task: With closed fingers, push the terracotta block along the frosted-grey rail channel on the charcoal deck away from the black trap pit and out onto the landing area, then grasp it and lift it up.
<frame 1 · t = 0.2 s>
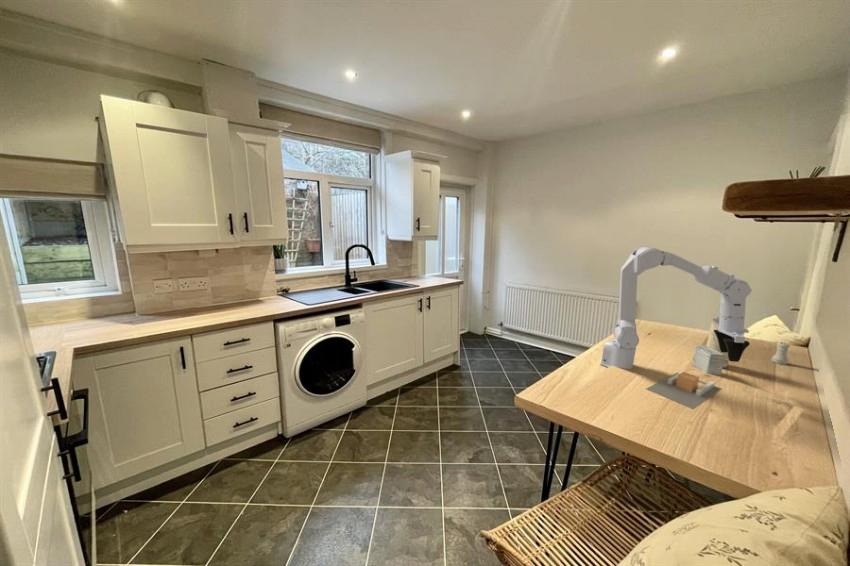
hand: (729, 356, 102), 10 cm above the table, tool pointing down, fingers open, 7 cm apart
rook chess piece: (779, 362, 123), on the table
block: (686, 387, 99), point 1 cm above the table, touching channel
medicine box: (705, 373, 113), on the table
aerosol can: (714, 364, 120), on the table
channel: (684, 392, 99), on the table
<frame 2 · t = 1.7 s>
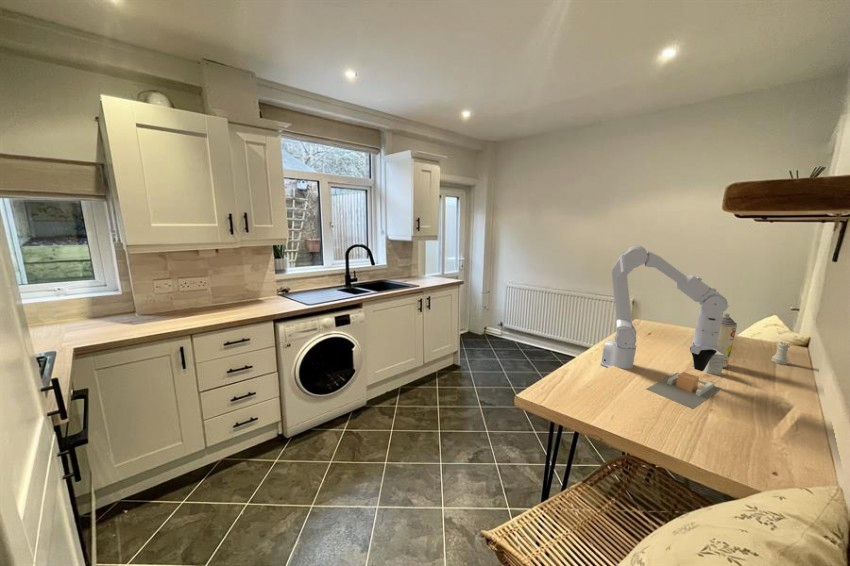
hand: (698, 369, 102), 6 cm above the table, tool pointing down, fingers closed
nothing on the table moved.
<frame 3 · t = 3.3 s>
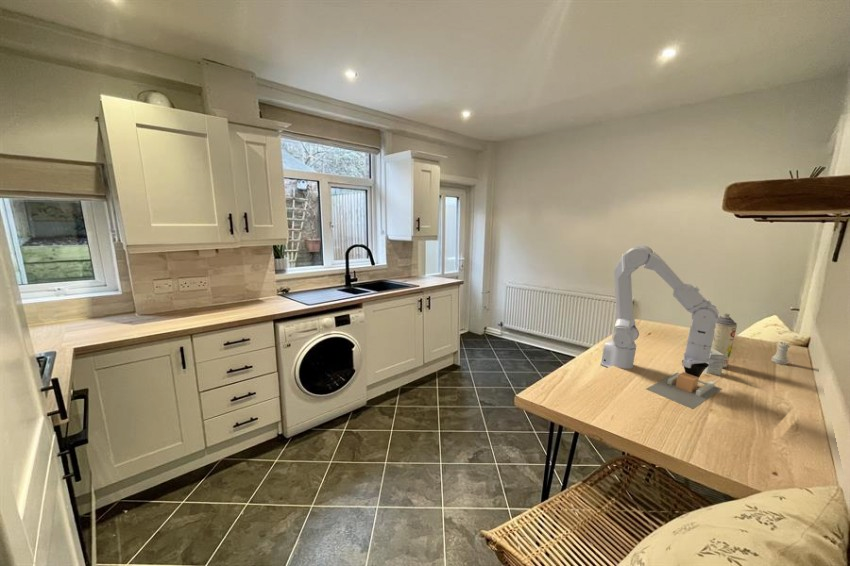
hand: (690, 382, 101), 2 cm above the table, tool pointing down, fingers closed
block: (685, 387, 99), point 2 cm above the table, touching gripper
everything else where it was.
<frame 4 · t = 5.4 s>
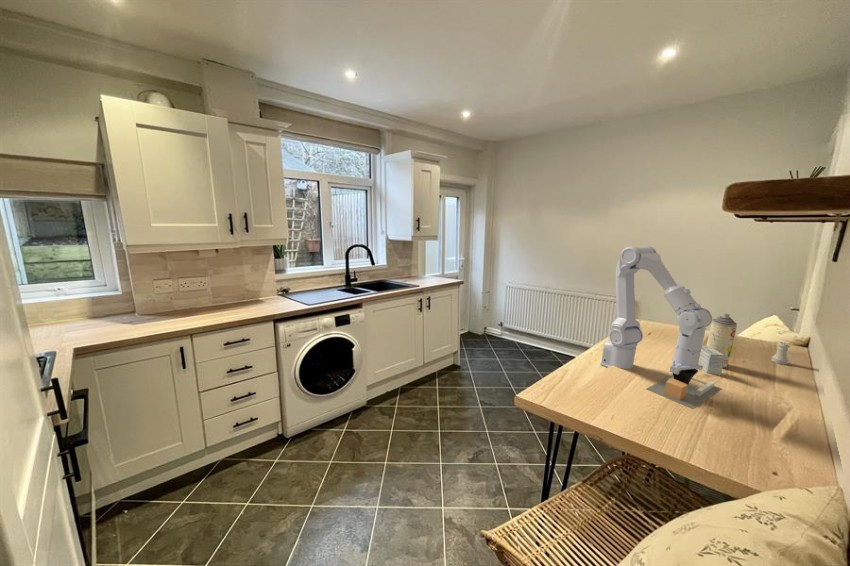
hand: (679, 389, 97), 2 cm above the table, tool pointing down, fingers closed
block: (674, 395, 95), point 1 cm above the table, touching channel, gripper
everything else where it was.
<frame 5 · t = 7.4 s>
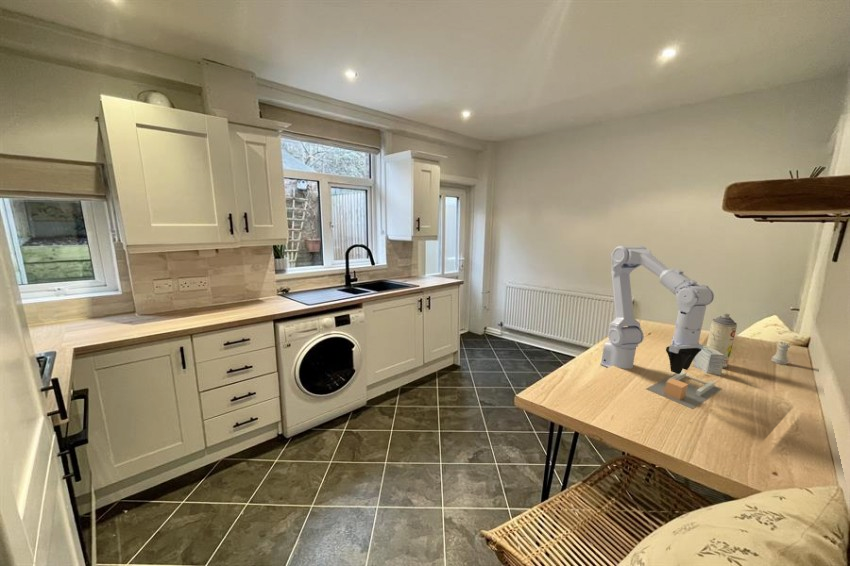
hand: (679, 370, 94), 9 cm above the table, tool pointing down, fingers open, 5 cm apart
block: (674, 395, 95), point 1 cm above the table, touching channel
everything else where it was.
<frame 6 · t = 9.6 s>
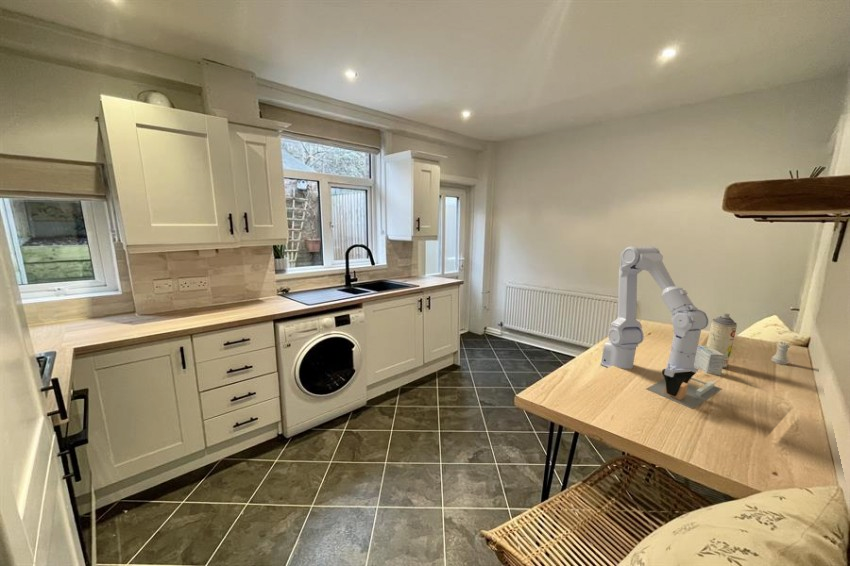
hand: (674, 392, 95), 2 cm above the table, tool pointing down, fingers closed on block, 4 cm apart
block: (674, 394, 95), point 2 cm above the table, touching channel, gripper
everything else where it was.
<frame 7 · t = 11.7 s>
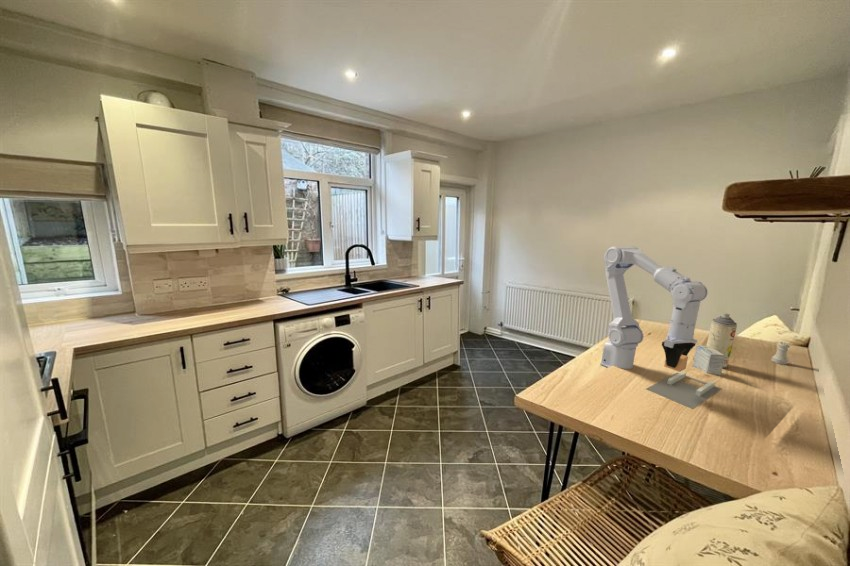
hand: (674, 364, 96), 10 cm above the table, tool pointing down, fingers closed on block, 4 cm apart
block: (674, 367, 96), point 9 cm above the table, touching gripper
everything else where it was.
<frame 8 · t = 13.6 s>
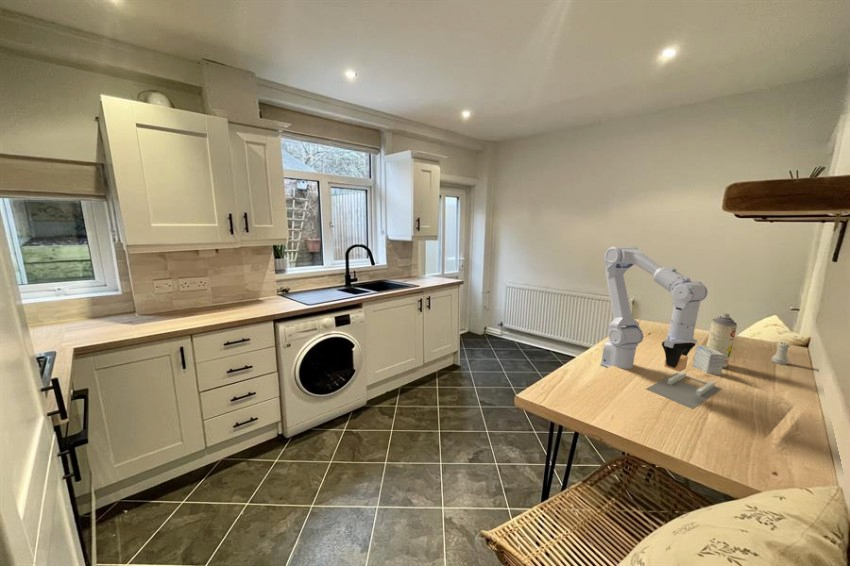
hand: (674, 364, 96), 10 cm above the table, tool pointing down, fingers closed on block, 4 cm apart
block: (674, 367, 96), point 9 cm above the table, touching gripper
everything else where it was.
at the end: block inside the target area (3.1 cm from its centre), point 9.1 cm above the table; the gripper is holding block; block touching gripper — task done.
